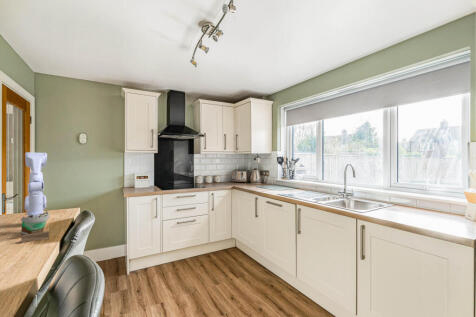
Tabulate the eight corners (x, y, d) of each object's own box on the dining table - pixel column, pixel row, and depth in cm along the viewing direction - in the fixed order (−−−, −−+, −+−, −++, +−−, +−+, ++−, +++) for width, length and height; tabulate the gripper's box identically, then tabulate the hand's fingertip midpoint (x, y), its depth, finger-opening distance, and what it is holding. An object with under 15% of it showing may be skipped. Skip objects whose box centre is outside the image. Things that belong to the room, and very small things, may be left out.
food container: (26, 239, 112) (30, 220, 111) (17, 235, 113) (21, 216, 112) (51, 231, 124) (55, 214, 123) (43, 227, 125) (47, 210, 124)
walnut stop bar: (21, 241, 108) (21, 235, 108) (48, 236, 115) (48, 230, 115) (21, 243, 106) (21, 236, 106) (48, 238, 113) (48, 232, 113)
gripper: (26, 202, 125) (25, 226, 125) (25, 206, 114) (25, 233, 114) (42, 201, 130) (42, 224, 130) (43, 204, 119) (43, 230, 119)
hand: (35, 228), depth 122 cm, fingers closed
